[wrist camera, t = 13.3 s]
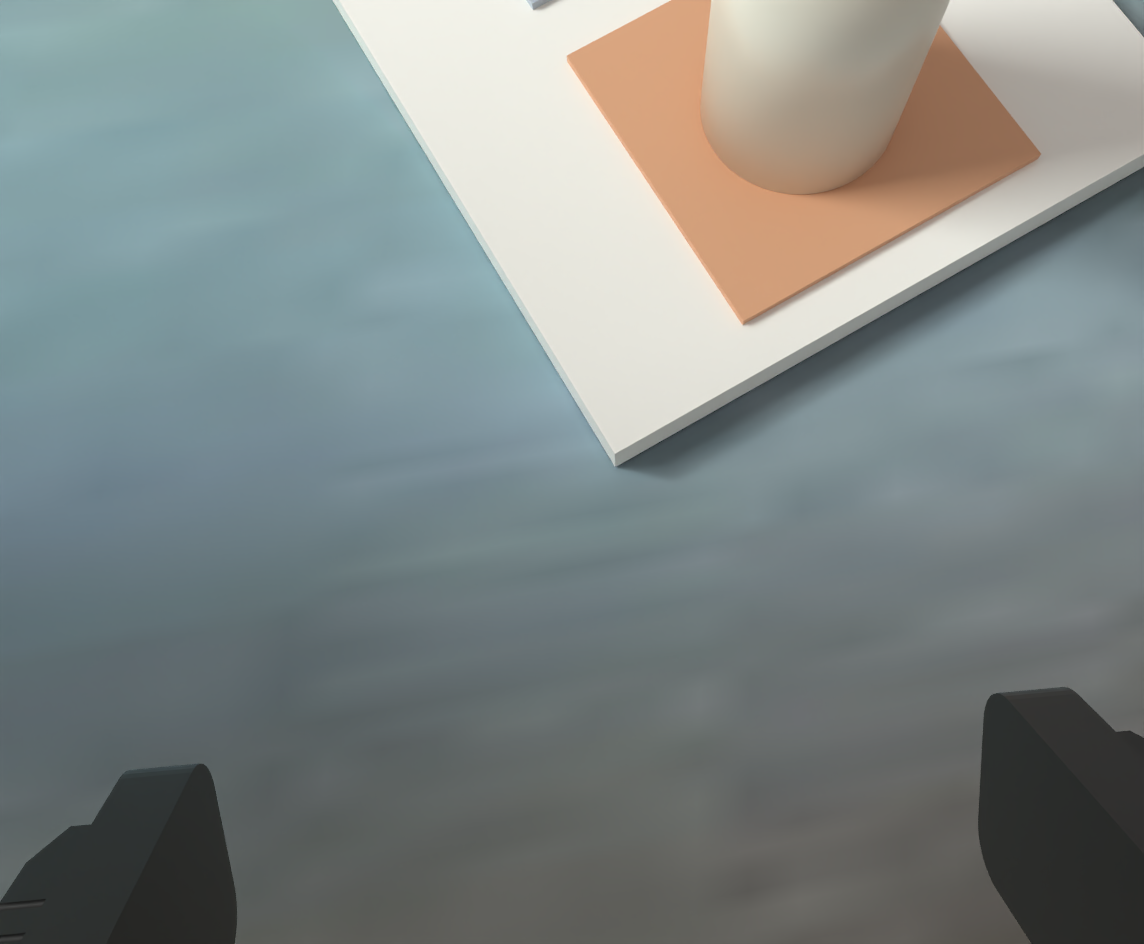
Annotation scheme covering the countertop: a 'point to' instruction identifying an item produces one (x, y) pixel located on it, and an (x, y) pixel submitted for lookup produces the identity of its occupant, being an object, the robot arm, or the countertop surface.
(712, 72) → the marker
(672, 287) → the picture board
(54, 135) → the countertop surface
